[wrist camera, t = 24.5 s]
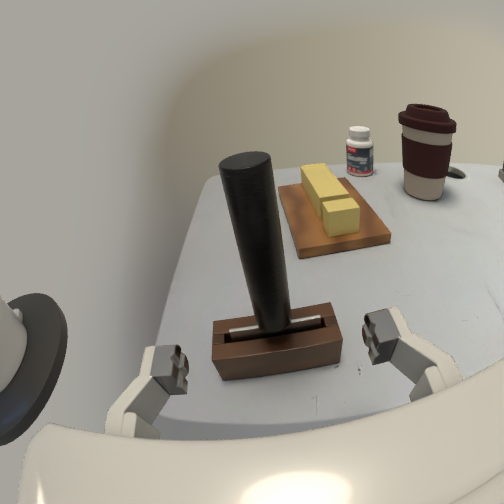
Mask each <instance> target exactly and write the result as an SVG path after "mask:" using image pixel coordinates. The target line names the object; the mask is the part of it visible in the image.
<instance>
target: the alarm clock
mask: <svg viewBox="0 0 504 504" xmlns="http://www.w3.org/2000/svg"><path fill="white" fill-rule="evenodd" d="M498 176H499V177H500V179H501V180H502V181H503V182H504V164H503V169H500V170H499V175H498Z"/></svg>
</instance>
